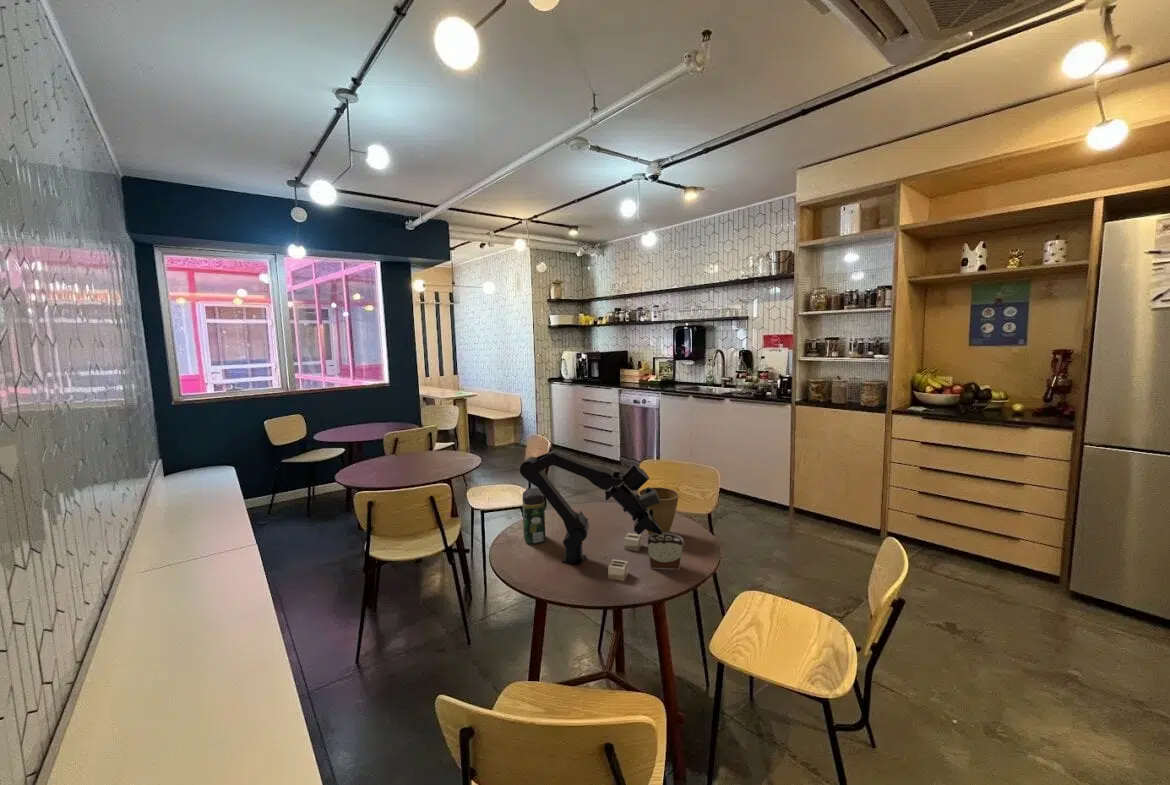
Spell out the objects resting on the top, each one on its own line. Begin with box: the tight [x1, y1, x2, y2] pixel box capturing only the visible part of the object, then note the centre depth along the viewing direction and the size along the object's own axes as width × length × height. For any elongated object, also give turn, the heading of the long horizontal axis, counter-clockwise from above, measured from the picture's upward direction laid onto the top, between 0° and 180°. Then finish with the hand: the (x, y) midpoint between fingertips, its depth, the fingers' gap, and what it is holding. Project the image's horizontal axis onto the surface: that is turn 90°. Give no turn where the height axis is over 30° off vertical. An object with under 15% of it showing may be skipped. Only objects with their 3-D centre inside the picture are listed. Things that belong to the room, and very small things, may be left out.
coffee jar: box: [522, 487, 546, 545], centre depth 173 cm, size 10×8×19 cm
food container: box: [645, 532, 686, 571], centre depth 153 cm, size 12×6×10 cm, turn 85°
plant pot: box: [637, 486, 680, 536], centre depth 177 cm, size 15×15×16 cm
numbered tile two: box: [607, 559, 629, 582], centre depth 147 cm, size 5×5×4 cm
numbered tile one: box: [623, 532, 642, 552], centre depth 167 cm, size 5×5×4 cm
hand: (661, 533), depth 153 cm, fingers closed
